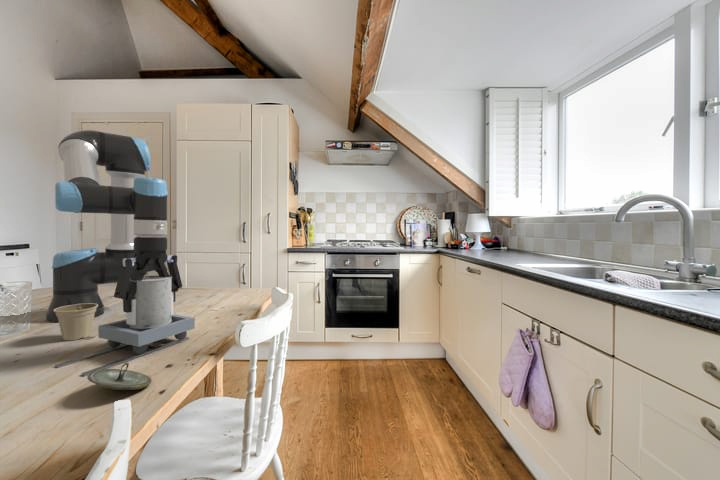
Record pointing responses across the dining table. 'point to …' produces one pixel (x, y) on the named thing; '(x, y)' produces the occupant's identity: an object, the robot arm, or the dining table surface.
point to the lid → (119, 379)
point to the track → (154, 344)
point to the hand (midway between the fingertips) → (151, 319)
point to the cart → (144, 333)
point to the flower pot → (76, 320)
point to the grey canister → (153, 302)
